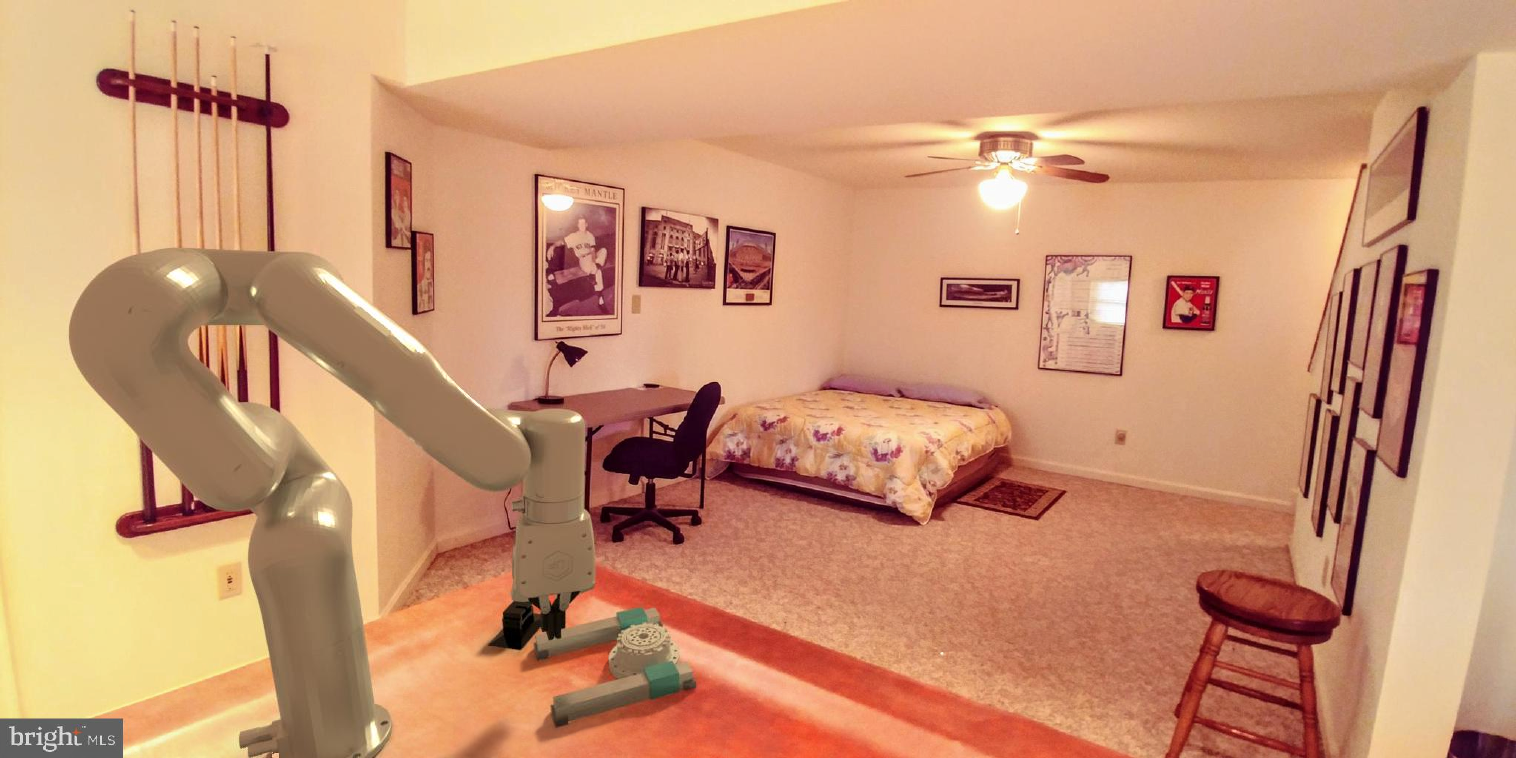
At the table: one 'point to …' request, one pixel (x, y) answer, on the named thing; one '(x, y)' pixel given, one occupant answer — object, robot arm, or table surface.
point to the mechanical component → (642, 650)
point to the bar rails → (619, 691)
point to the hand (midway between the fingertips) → (553, 634)
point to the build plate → (517, 626)
